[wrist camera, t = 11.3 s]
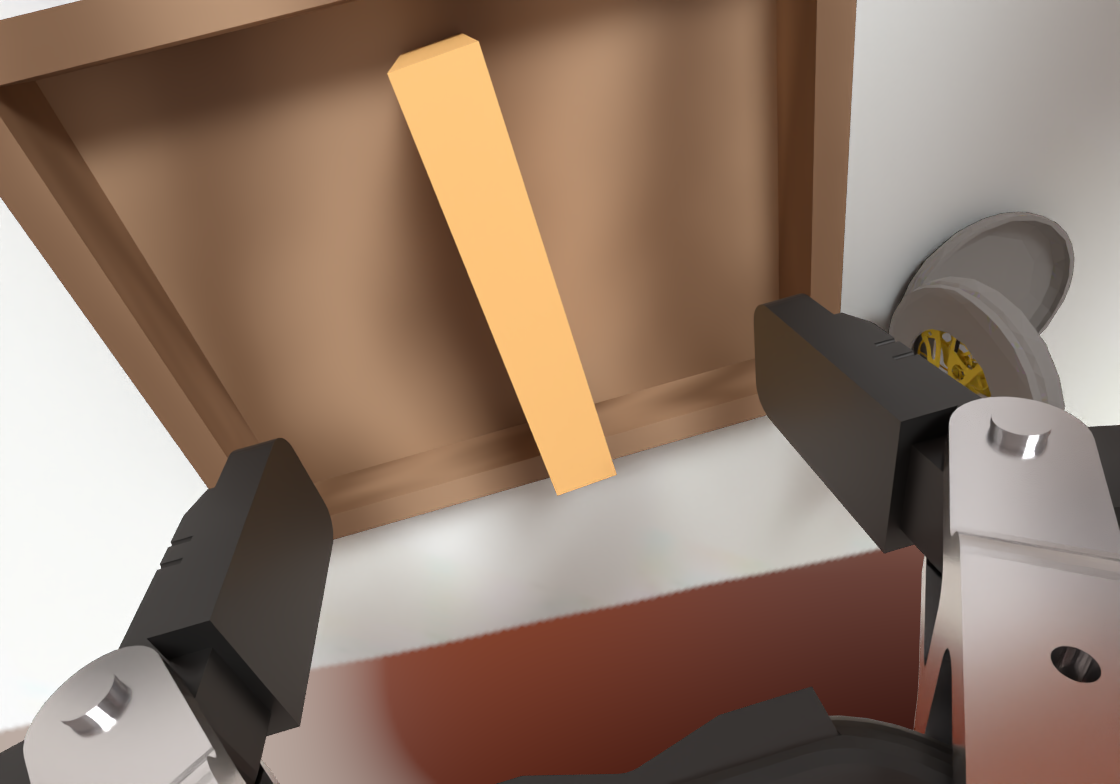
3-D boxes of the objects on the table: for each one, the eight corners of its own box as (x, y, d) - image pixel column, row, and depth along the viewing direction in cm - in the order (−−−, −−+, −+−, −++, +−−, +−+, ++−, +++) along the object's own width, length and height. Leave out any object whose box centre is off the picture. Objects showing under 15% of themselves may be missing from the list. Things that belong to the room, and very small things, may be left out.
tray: (793, -157, 15) (866, -192, 13) (792, 354, 23) (836, 395, 21) (-14, 41, 14) (-107, 46, 12) (278, 499, 22) (259, 560, 20)
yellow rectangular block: (478, 41, 10) (616, 474, 16) (461, 32, 15) (570, 362, 21) (387, 73, 10) (557, 495, 16) (400, 54, 15) (525, 378, 21)
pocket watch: (1075, 278, 24) (1423, 419, 16) (902, 425, 26) (1122, 615, 18) (989, 136, 20) (1388, 221, 12) (796, 323, 23) (1013, 503, 14)
